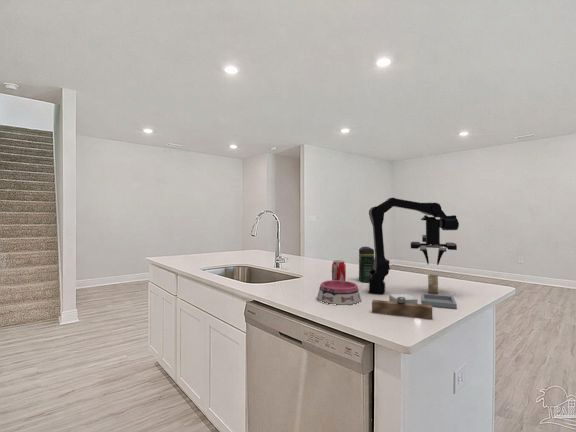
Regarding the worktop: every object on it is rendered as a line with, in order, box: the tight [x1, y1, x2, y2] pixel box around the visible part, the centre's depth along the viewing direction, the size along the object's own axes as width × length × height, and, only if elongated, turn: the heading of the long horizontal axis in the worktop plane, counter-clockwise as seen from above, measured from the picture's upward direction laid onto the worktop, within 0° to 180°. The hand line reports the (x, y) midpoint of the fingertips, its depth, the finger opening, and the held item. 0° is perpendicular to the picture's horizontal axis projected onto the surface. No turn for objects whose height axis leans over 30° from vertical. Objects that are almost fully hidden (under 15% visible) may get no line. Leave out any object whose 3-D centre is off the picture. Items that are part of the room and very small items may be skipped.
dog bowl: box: [316, 279, 362, 306], centre depth 130 cm, size 18×19×7 cm
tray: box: [420, 293, 457, 310], centre depth 123 cm, size 12×12×2 cm
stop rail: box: [371, 297, 433, 320], centre depth 109 cm, size 20×3×6 cm, turn 67°
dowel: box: [427, 274, 439, 295], centre depth 139 cm, size 4×4×8 cm
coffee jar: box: [358, 246, 375, 283], centre depth 167 cm, size 10×8×19 cm
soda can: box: [331, 260, 347, 281], centre depth 158 cm, size 7×7×12 cm
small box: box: [388, 293, 419, 304], centre depth 116 cm, size 8×8×5 cm
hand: (432, 264), depth 139 cm, fingers open, 4 cm apart
